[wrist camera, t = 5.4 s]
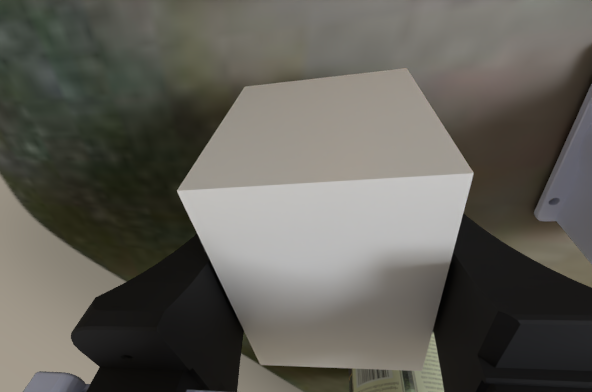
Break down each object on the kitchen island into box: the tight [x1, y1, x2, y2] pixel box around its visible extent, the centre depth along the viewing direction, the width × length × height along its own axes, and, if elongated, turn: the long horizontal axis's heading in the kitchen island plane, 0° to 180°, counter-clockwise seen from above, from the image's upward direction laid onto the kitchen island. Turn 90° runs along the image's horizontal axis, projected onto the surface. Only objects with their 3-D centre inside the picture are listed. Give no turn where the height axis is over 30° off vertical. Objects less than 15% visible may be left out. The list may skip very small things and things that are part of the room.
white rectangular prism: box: [177, 68, 474, 371], centre depth 11 cm, size 9×6×7 cm
